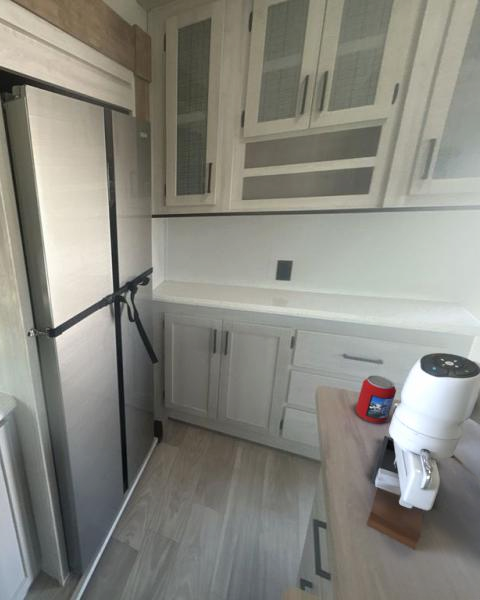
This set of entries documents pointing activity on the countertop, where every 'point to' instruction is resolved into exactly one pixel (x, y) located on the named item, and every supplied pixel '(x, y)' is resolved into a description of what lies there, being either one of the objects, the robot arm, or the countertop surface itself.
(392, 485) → the white red-tipped brick
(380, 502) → the tap plinth
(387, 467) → the sink basin
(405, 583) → the countertop surface
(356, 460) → the countertop surface
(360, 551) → the countertop surface
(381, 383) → the beverage can
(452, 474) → the countertop surface
